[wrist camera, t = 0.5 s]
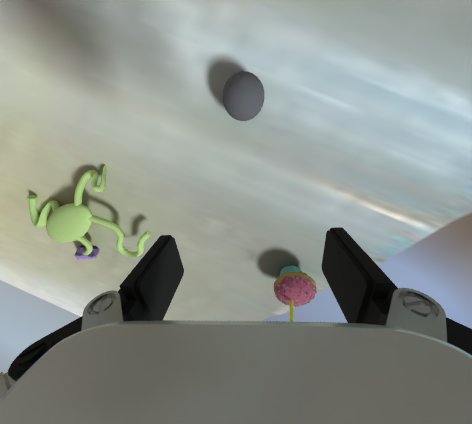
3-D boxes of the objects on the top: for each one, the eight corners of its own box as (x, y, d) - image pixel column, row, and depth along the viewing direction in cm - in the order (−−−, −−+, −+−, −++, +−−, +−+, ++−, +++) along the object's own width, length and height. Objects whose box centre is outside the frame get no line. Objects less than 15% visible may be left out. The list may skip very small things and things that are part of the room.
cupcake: (281, 289, 43) (290, 343, 33) (265, 266, 41) (268, 318, 30) (315, 278, 41) (337, 333, 30) (300, 252, 38) (318, 304, 27)
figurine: (168, 238, 40) (155, 254, 35) (81, 259, 46) (60, 276, 41) (119, 159, 32) (95, 165, 28) (23, 197, 39) (-10, 208, 34)
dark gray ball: (245, 66, 24) (242, 52, 19) (271, 99, 26) (275, 94, 21) (218, 100, 26) (210, 95, 21) (244, 129, 28) (241, 130, 23)
